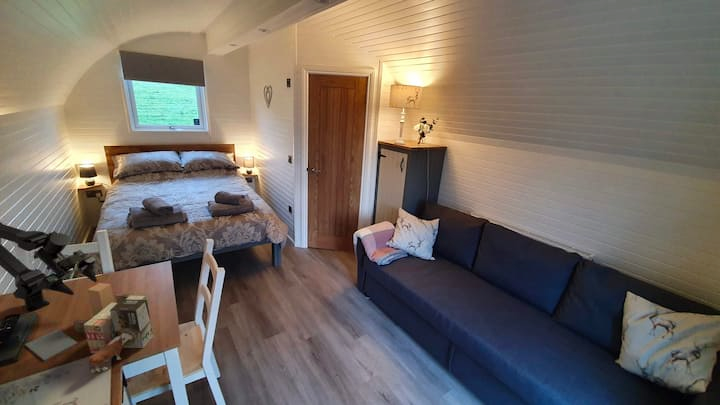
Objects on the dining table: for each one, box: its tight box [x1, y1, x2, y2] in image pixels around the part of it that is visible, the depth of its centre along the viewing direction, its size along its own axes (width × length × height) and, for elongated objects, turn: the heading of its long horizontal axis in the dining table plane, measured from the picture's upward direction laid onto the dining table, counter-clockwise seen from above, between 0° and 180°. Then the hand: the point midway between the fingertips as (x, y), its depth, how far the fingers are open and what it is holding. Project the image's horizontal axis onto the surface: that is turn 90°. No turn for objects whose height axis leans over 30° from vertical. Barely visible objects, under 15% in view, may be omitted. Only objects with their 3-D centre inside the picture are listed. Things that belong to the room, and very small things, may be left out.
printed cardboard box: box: [84, 294, 147, 355], centre depth 115 cm, size 21×6×12 cm, turn 179°
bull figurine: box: [87, 332, 133, 374], centre depth 103 cm, size 4×13×8 cm, turn 161°
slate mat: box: [25, 328, 79, 362], centre depth 109 cm, size 14×9×1 cm, turn 64°
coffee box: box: [110, 299, 154, 349], centre depth 111 cm, size 9×6×16 cm
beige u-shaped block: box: [73, 293, 131, 334], centre depth 124 cm, size 9×18×4 cm, turn 172°
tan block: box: [87, 282, 115, 318], centre depth 123 cm, size 5×5×14 cm
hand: (85, 287), depth 122 cm, fingers open, 9 cm apart
